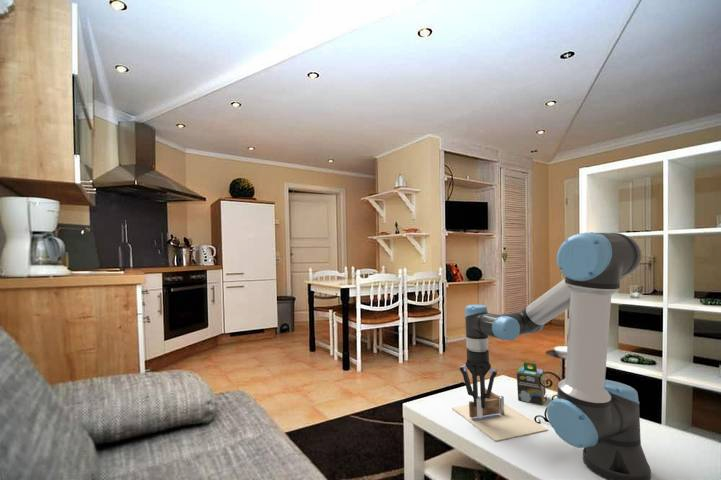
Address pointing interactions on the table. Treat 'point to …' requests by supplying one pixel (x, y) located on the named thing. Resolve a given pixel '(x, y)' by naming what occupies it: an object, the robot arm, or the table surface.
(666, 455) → the table surface
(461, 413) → the card
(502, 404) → the hinge post
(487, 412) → the hinged panel
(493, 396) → the fixed panel
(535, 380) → the chalk box
